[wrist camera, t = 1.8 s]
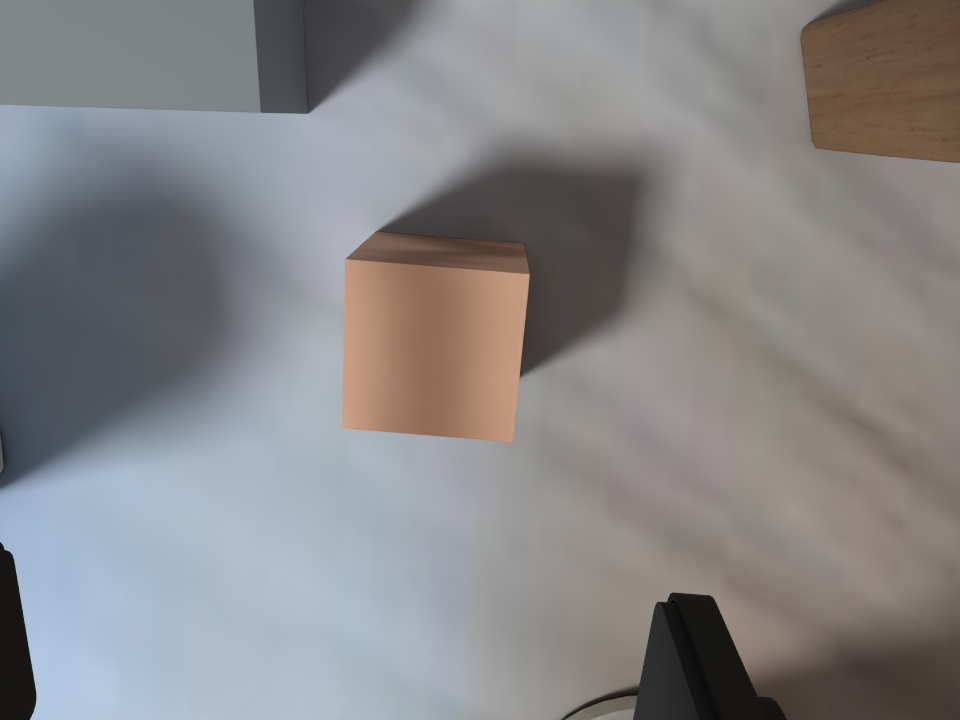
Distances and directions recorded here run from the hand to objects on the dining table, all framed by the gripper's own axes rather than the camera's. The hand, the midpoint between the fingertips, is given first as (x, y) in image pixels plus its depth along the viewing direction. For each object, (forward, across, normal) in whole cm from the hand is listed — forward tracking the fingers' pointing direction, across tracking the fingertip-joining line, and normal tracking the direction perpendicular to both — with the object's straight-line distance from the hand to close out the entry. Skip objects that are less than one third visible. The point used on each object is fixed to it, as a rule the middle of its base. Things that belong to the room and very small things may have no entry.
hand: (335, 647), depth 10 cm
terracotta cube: (+20, 0, 0) cm, 20 cm away
